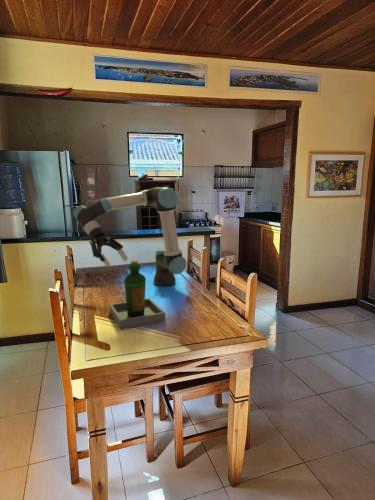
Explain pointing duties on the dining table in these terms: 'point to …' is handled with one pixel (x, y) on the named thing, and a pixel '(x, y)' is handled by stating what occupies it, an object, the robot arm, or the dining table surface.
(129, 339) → the dining table surface
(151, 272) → the dining table surface
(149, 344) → the dining table surface
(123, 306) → the tray
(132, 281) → the bottle
